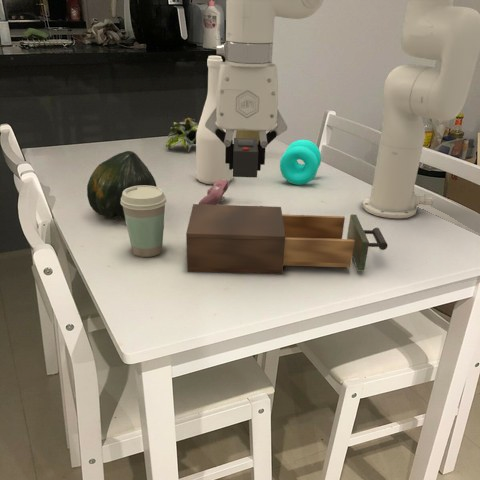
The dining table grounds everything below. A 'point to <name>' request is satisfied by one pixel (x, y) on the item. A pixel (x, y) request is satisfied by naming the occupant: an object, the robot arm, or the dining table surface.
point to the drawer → (327, 241)
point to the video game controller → (215, 193)
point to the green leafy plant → (183, 133)
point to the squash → (116, 182)
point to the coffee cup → (144, 218)
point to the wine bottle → (211, 134)
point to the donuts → (297, 171)
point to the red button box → (245, 157)
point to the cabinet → (235, 239)
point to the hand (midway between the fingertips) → (244, 166)
